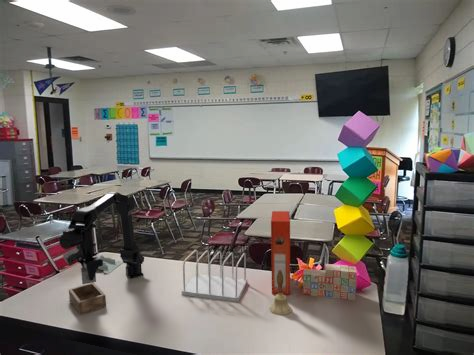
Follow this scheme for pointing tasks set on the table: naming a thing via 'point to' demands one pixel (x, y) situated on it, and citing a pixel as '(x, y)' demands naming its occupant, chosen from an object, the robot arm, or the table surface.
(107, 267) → the metal bracket
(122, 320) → the table surface
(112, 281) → the table surface
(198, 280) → the file sorter
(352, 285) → the stack of blocks
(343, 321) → the table surface
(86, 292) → the open wooden box
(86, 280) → the dice cube
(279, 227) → the file binder
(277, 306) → the hand bell
